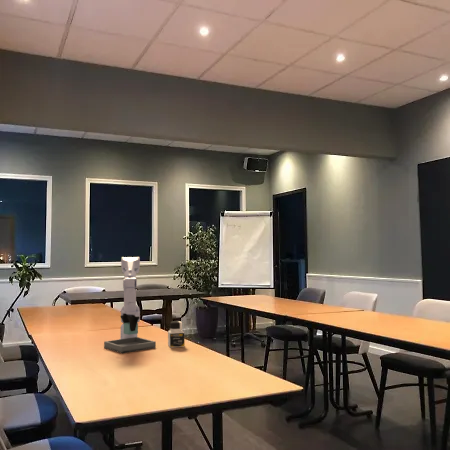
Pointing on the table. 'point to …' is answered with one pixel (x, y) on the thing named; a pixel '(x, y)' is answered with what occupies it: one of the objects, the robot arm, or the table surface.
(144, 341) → the charcoal tray
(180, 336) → the medicine bottle
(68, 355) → the table surface
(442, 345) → the table surface
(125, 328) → the teal block
